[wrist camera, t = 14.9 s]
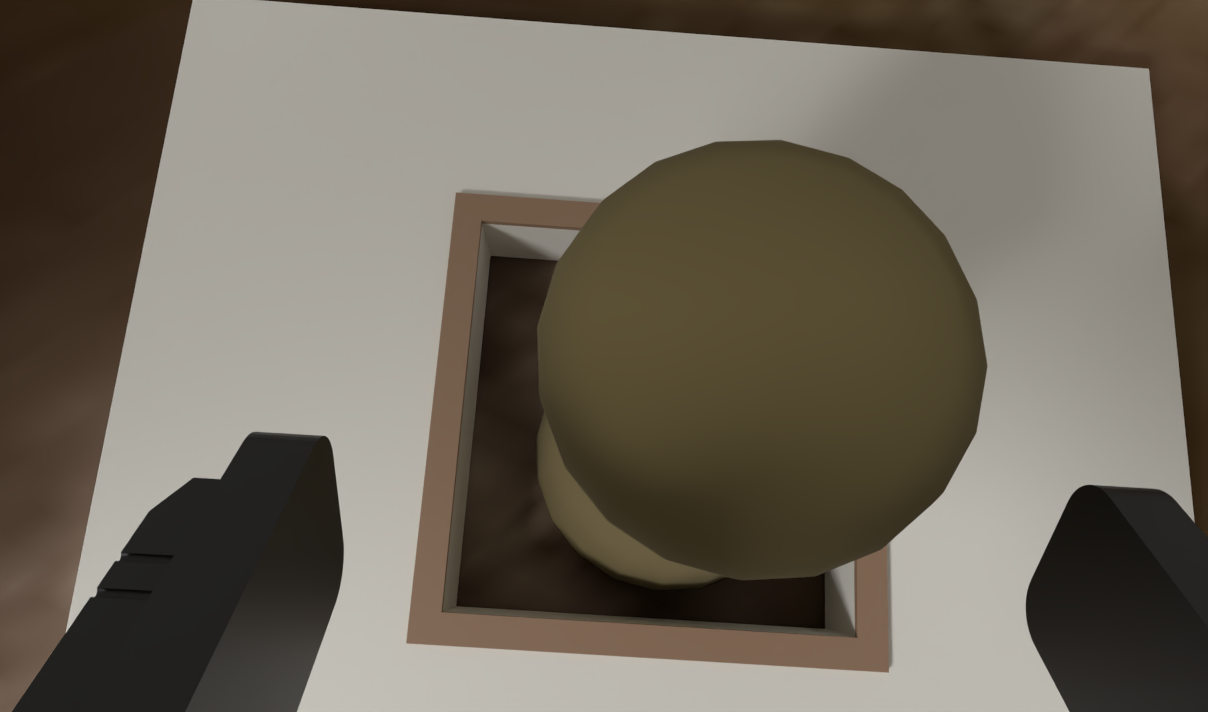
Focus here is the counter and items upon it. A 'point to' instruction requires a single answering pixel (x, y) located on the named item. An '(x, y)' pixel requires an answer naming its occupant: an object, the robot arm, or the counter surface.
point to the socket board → (544, 231)
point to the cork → (752, 368)
